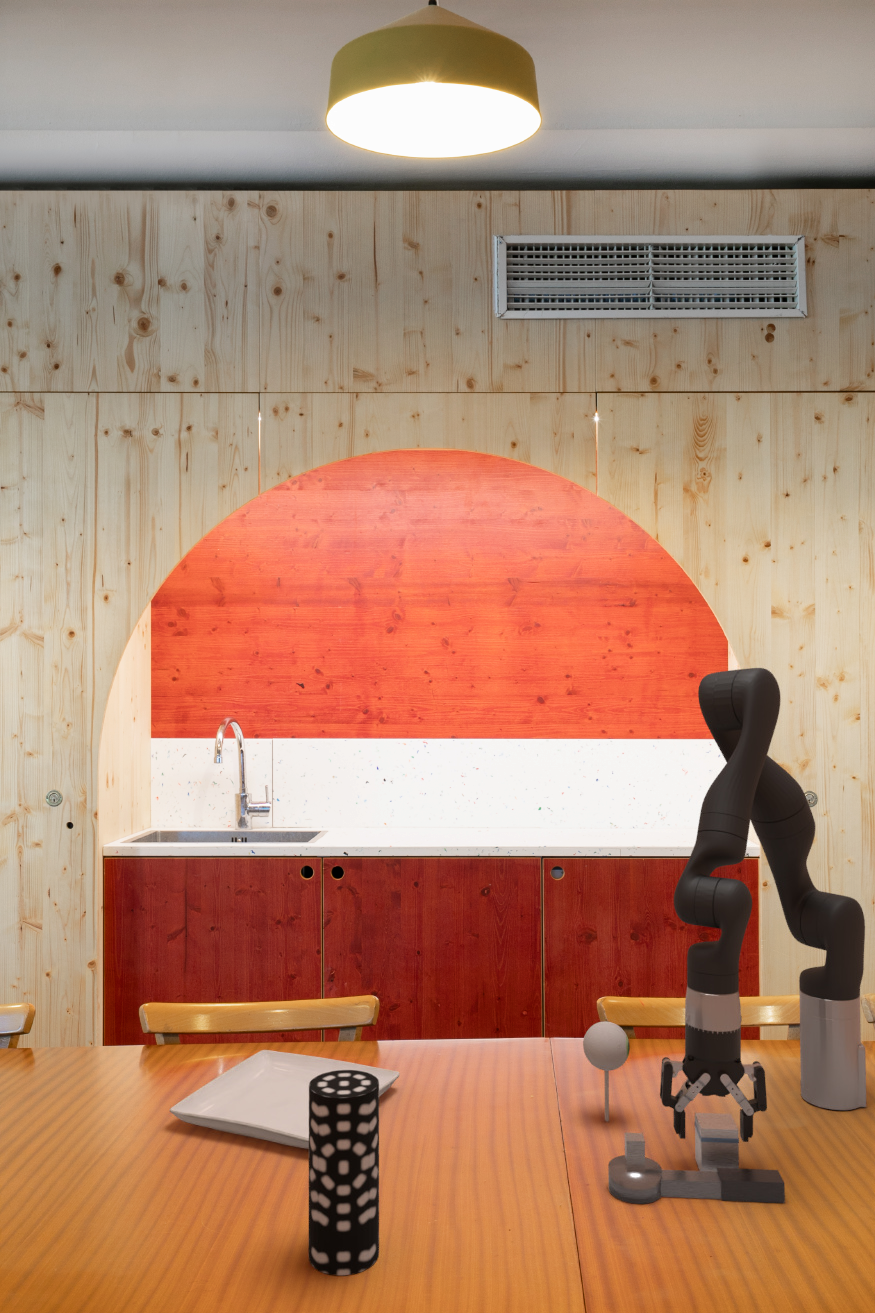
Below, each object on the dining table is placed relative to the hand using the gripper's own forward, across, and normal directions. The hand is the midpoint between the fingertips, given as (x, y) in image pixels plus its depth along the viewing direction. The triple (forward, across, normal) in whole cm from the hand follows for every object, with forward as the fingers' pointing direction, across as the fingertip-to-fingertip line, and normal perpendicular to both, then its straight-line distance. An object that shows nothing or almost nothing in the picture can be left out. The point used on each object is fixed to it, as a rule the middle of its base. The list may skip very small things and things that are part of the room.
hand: (712, 1138), depth 137 cm
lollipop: (+4, +14, -14) cm, 20 cm away
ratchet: (+4, +4, +7) cm, 9 cm away
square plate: (+6, +64, -14) cm, 65 cm away
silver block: (+4, -1, 0) cm, 4 cm away
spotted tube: (+5, +47, +25) cm, 54 cm away
